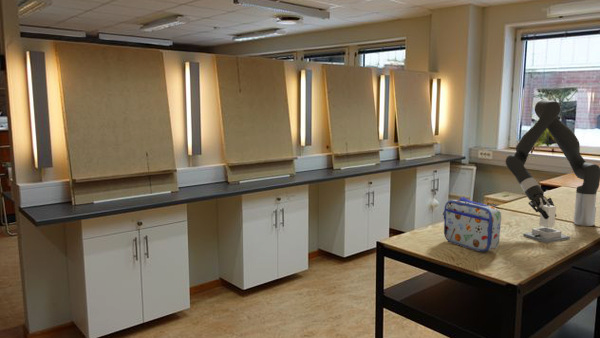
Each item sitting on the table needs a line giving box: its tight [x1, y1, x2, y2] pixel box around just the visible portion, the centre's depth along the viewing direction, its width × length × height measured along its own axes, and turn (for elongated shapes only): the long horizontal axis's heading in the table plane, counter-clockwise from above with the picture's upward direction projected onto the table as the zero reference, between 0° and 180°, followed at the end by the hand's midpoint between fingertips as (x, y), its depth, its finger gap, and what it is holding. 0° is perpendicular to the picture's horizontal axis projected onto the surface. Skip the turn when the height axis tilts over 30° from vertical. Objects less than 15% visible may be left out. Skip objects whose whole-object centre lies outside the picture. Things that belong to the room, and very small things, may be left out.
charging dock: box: [522, 226, 571, 244], centre depth 225 cm, size 16×13×4 cm
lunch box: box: [442, 196, 502, 252], centre depth 211 cm, size 28×10×22 cm, turn 32°
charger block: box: [539, 203, 557, 228], centre depth 223 cm, size 5×5×11 cm
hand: (551, 217), depth 222 cm, fingers closed on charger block, 4 cm apart
